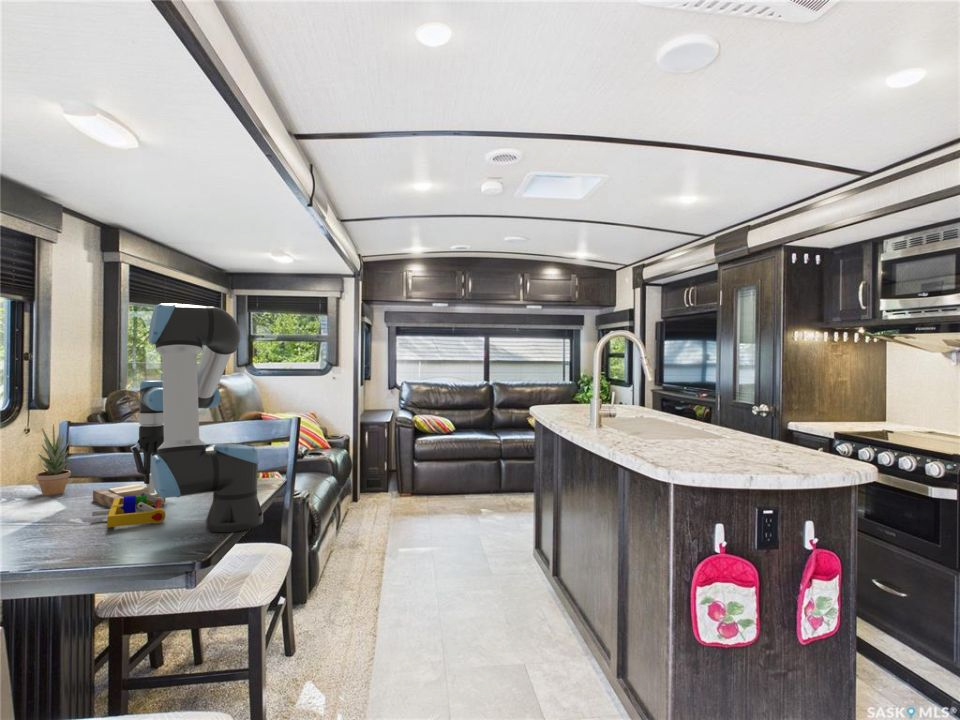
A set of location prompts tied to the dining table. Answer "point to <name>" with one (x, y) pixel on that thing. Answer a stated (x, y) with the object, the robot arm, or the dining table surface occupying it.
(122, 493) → the block
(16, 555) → the dining table surface
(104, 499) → the board
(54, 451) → the potted plant
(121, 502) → the mechanical clamp
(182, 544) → the dining table surface
